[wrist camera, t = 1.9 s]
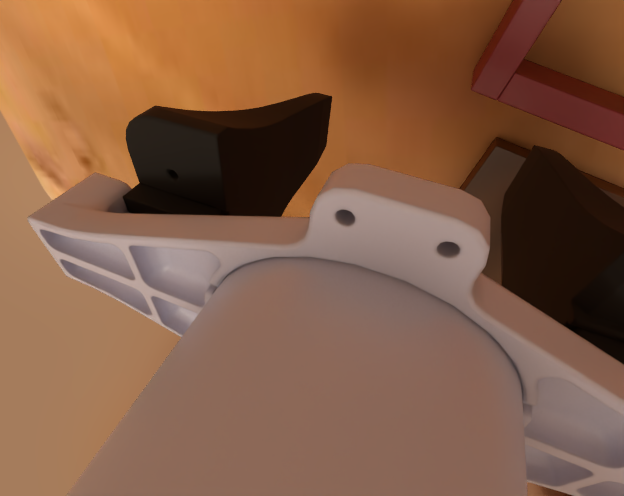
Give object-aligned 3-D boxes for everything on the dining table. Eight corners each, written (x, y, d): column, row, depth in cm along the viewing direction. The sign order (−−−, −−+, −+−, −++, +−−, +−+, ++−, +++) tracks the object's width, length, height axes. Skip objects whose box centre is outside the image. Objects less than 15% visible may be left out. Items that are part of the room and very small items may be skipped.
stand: (656, 201, 20) (701, 283, 16) (537, 291, 28) (545, 365, 23) (496, 136, 21) (496, 198, 17) (422, 241, 29) (408, 303, 24)
